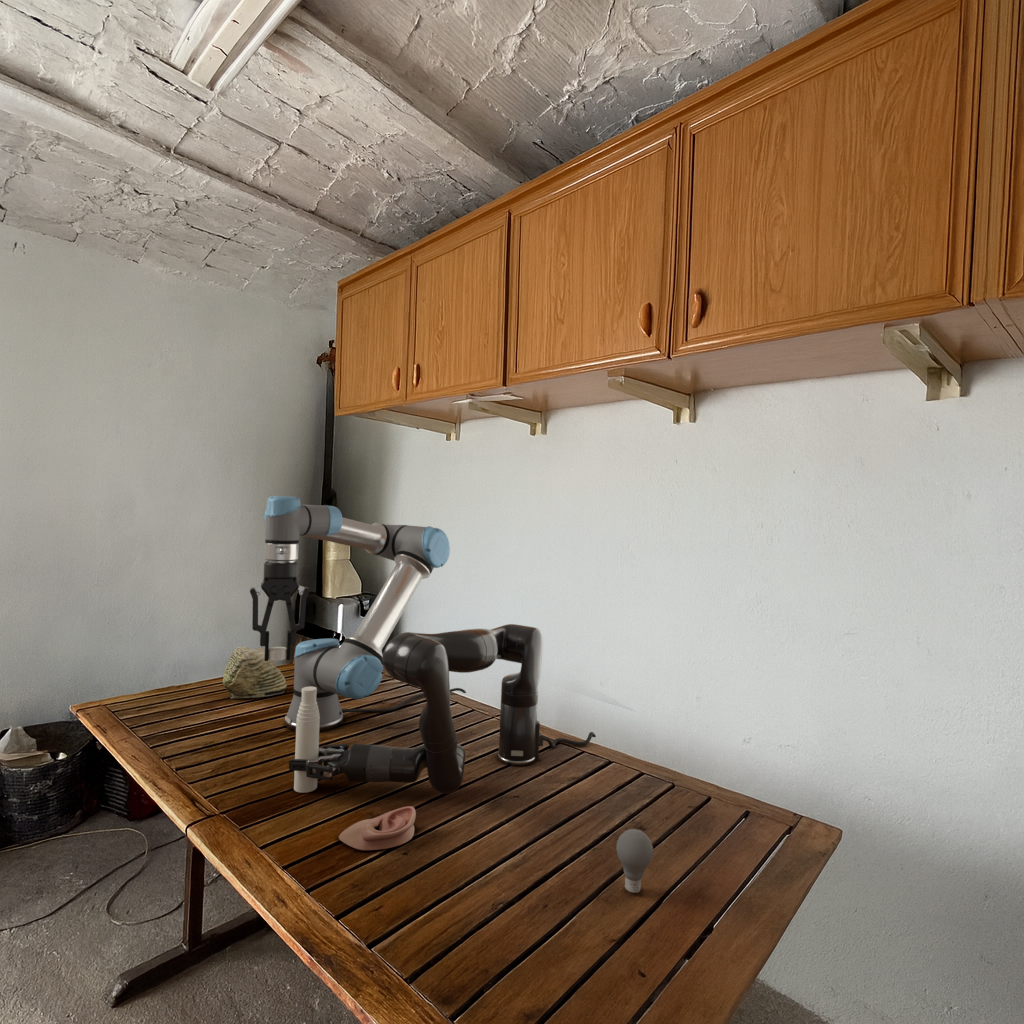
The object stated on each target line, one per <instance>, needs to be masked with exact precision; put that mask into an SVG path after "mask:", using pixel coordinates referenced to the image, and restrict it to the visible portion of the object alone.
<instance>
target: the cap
mask: <svg viewBox="0 0 1024 1024" xmlns="http://www.w3.org/2000/svg"><path fill="white" fill-rule="evenodd" d="M268 660H271V661H274V662H280V661H286V660H287V646H271V647H269V652H268Z"/></svg>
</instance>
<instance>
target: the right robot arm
mask: <svg viewBox="0 0 1024 1024" xmlns="http://www.w3.org/2000/svg"><path fill="white" fill-rule="evenodd" d="M543 637H544V636H543V633H542V631H541V629H539V628H538V627H534V626H529V625H521V624H514V623H509V624H508V623H507V624H504V625H500V626H498V627H497V626H496V627H494V628H491V629H490V628H489V629H488V628H470V629H469V628H468V629H467V628H466V629H461V630H453V631H445V632H439V633H438V632H437V633H422V632H421V633H420V632H412V631H405V632H402V633H399V634H397V635H396V636H394V637H393V638H392V639H390V641H388V642H387V643H386V646H385V647H384V650H383V651H382V655H383V658H382V666H383V669H384V670H385V671H386V673H387V674H388V675H389V676H391V677H392V678H394V679H395V680H397V681H400V682H402V683H404V684H408V685H409V686H413V687H415V688H419V689H421V691H422V694H423V693H424V695H425V696H424V697H425V699H426V703H425V705H424V706H423V708H422V710H421V712H420V715H419V719H418V729H419V733H420V738H421V740H422V743H423V745H421V746H417V747H402V746H401V747H400V746H399V747H398V746H390V745H386V744H385V745H384V744H365V743H364V744H363V743H353V744H352V745H351V747H350V744H349V743H342V744H340V743H339V744H323V745H322V746H321V747H319V751H318V759H313V760H306V759H295V758H291V759H289V761H288V770H289V771H293V772H295V771H306V773H307V774H306V777H310V778H316V779H317V780H321V781H328V782H331V781H333V778H334V777H333V776H334V775H343V774H345V775H346V779H347V780H348V781H349V782H362V783H404V784H405V783H409V784H411V783H415V782H416V781H418V779H419V778H420V776H421V773H422V772H423V770H424V769H426V771H427V777H428V781H429V783H430V785H431V787H432V788H433V789H434V790H435V791H436V792H438V793H440V794H444V795H449V794H453V793H455V792H457V791H458V789H459V788H460V787H461V786H462V783H463V779H464V773H465V772H464V770H465V763H466V752H465V749H464V748H463V746H462V745H460V744H458V736H457V732H456V728H455V723H454V720H453V714H452V709H451V692H450V689H451V682H450V672H452V673H461V674H464V673H465V674H467V673H474V672H480V671H483V670H486V669H488V668H489V667H491V666H493V664H494V663H495V662H496V660H501V661H506V662H512V663H516V664H521V666H520V671H519V672H514V673H510V674H506V675H505V676H503V678H502V679H501V685H500V686H501V687H500V688H501V689H500V690H501V691H500V708H499V709H500V711H499V734H498V736H499V737H498V750H497V758H498V760H499V761H500V762H501V763H503V764H506V765H511V766H527V765H530V764H533V763H534V762H537V761H539V756H540V755H539V754H540V747H543V746H544V742H547V743H548V745H549V747H550V748H551V749H554V748H555V747H556V745H557V744H558V743H563V744H564V743H565V744H569V745H572V746H577V747H583V746H587V745H588V744H589V743H590V742H591V740H592V738H597V735H596V734H595V732H593V731H590V732H589V733H588V735H587V738H586V740H583V741H576V740H571V739H569V738H564V737H559V738H554V740H553V741H552V739H551V738H549V737H547V736H545V735H543V734H542V733H541V732H540V731H541V723H540V721H539V720H538V704H539V703H538V702H539V684H540V680H541V674H542V673H541V672H542V662H543V654H544V653H543V652H544V638H543Z"/></svg>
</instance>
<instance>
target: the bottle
mask: <svg viewBox="0 0 1024 1024" xmlns="http://www.w3.org/2000/svg"><path fill="white" fill-rule="evenodd" d="M301 690H302V691H301V692H302V701H301V703H300V707H299V710H298V714H297V719H296V731H295V748H294V749H295V751H294V759H306V760H313V759H318V751H319V748H320V731H319V725H320V716H319V709H318V705H317V701H316V692H317V688H316V687H304V688H302V689H301ZM293 772H294V773H293V774H294V776H293V777H294V778H293V790H294V791H295V792H297V793H302V794H304V793H310V792H313V791H315V790H317V788H318V779H316V778H310V777H306V774H307V773H306V771H293Z"/></svg>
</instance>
